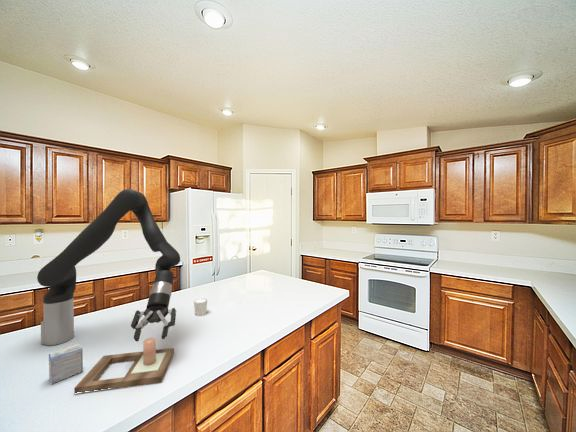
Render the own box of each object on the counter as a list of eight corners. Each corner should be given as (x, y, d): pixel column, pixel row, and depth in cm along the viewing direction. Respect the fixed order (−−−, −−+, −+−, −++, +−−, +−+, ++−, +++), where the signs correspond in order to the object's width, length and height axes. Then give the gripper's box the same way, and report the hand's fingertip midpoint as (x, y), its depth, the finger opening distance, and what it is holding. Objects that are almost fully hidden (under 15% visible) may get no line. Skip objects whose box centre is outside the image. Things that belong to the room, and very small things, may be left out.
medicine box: (80, 366, 84) (80, 342, 83) (83, 372, 81) (82, 347, 80) (48, 379, 77) (48, 353, 77) (50, 385, 75) (50, 358, 74)
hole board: (74, 394, 71) (74, 386, 71) (103, 361, 87) (103, 354, 87) (161, 382, 76) (161, 375, 76) (174, 353, 92) (174, 347, 92)
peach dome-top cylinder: (141, 366, 81) (141, 344, 80) (145, 359, 84) (145, 338, 84) (153, 364, 81) (153, 342, 81) (157, 357, 85) (157, 337, 85)
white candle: (193, 317, 123) (193, 303, 123) (194, 311, 129) (194, 298, 129) (206, 315, 125) (206, 302, 125) (207, 310, 131) (207, 297, 131)
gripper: (137, 292, 90) (123, 338, 79) (177, 290, 93) (169, 334, 82) (143, 301, 95) (130, 345, 85) (180, 298, 99) (173, 340, 88)
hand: (149, 339), depth 83 cm, fingers open, 8 cm apart
